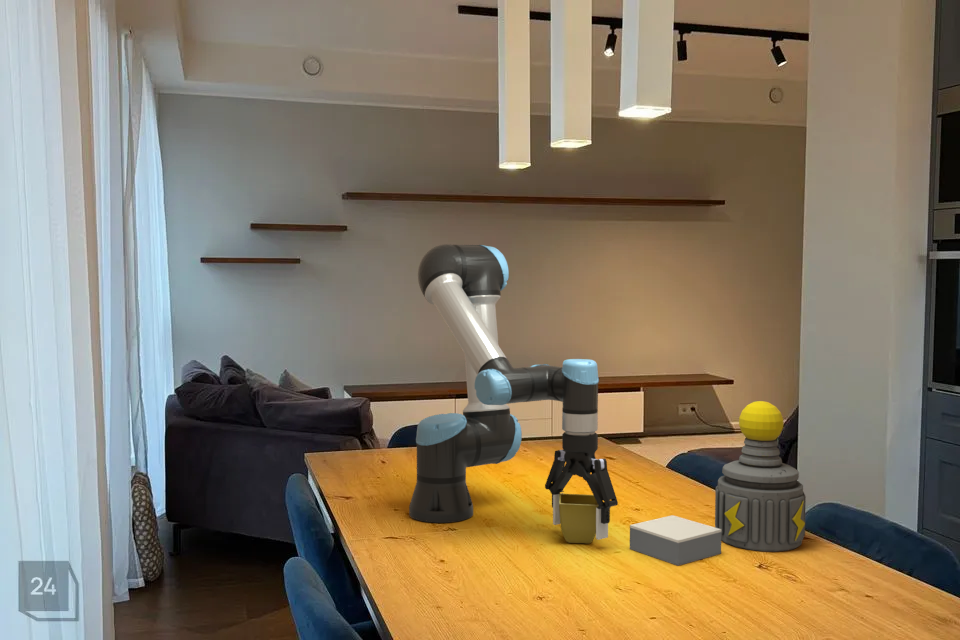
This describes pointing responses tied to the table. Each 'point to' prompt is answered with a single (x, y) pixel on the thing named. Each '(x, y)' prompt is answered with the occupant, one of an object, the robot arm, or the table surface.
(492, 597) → the table surface
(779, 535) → the decorative lamp
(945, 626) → the table surface
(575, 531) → the flower pot
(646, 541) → the plinth
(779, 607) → the table surface
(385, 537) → the table surface
